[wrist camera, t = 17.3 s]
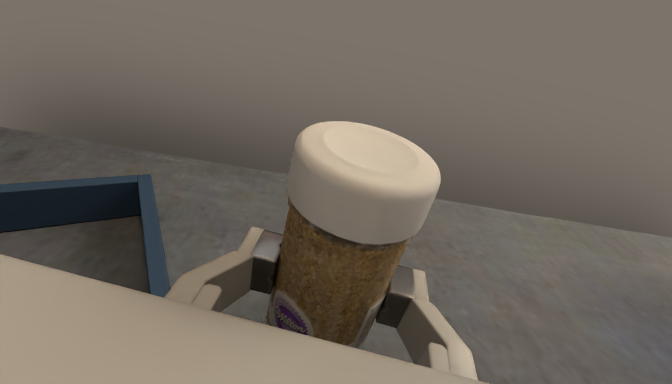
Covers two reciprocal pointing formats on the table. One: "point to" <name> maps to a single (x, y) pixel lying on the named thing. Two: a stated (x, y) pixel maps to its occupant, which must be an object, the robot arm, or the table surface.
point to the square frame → (89, 211)
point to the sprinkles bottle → (347, 227)
